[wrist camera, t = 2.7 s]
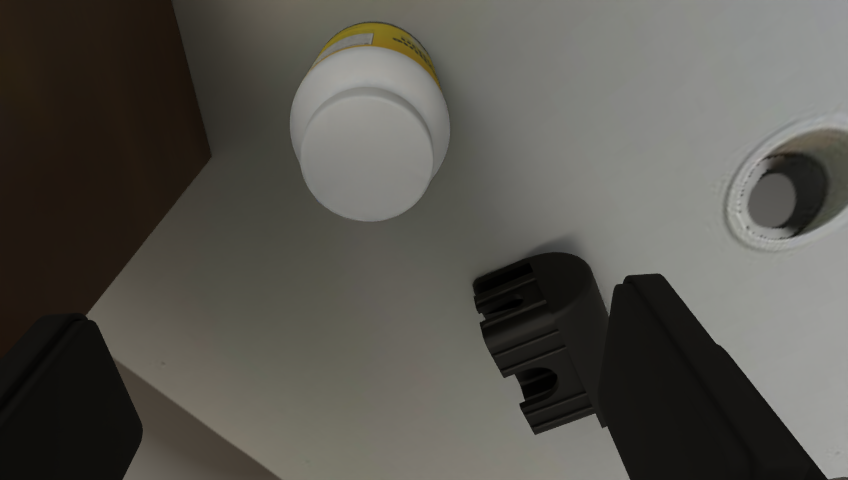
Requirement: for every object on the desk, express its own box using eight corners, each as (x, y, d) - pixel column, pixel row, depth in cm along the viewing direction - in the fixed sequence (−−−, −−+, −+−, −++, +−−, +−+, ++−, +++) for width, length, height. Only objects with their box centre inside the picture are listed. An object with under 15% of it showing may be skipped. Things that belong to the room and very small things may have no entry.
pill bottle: (437, 137, 30) (462, 239, 20) (323, 145, 30) (290, 252, 20) (433, 14, 27) (459, 61, 17) (304, 22, 27) (254, 75, 17)
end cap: (610, 340, 39) (651, 413, 33) (519, 375, 40) (542, 451, 34) (569, 232, 34) (607, 294, 28) (466, 275, 35) (482, 344, 29)
